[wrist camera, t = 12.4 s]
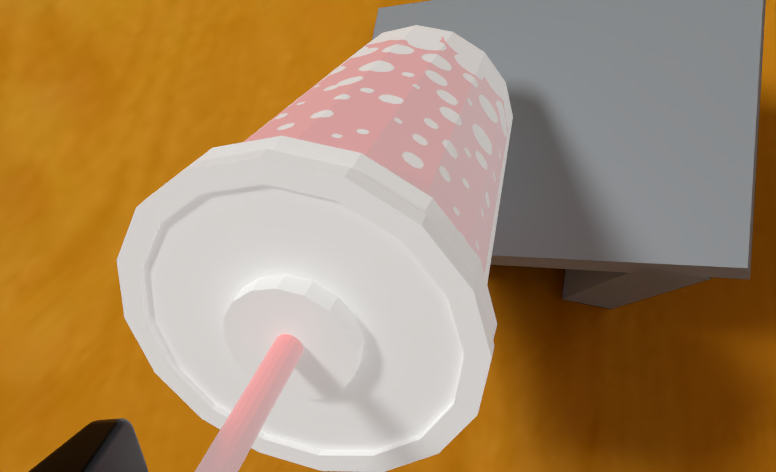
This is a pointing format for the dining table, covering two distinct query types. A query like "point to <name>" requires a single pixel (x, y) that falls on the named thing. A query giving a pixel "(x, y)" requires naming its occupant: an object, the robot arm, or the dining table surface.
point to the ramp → (620, 136)
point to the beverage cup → (334, 264)
